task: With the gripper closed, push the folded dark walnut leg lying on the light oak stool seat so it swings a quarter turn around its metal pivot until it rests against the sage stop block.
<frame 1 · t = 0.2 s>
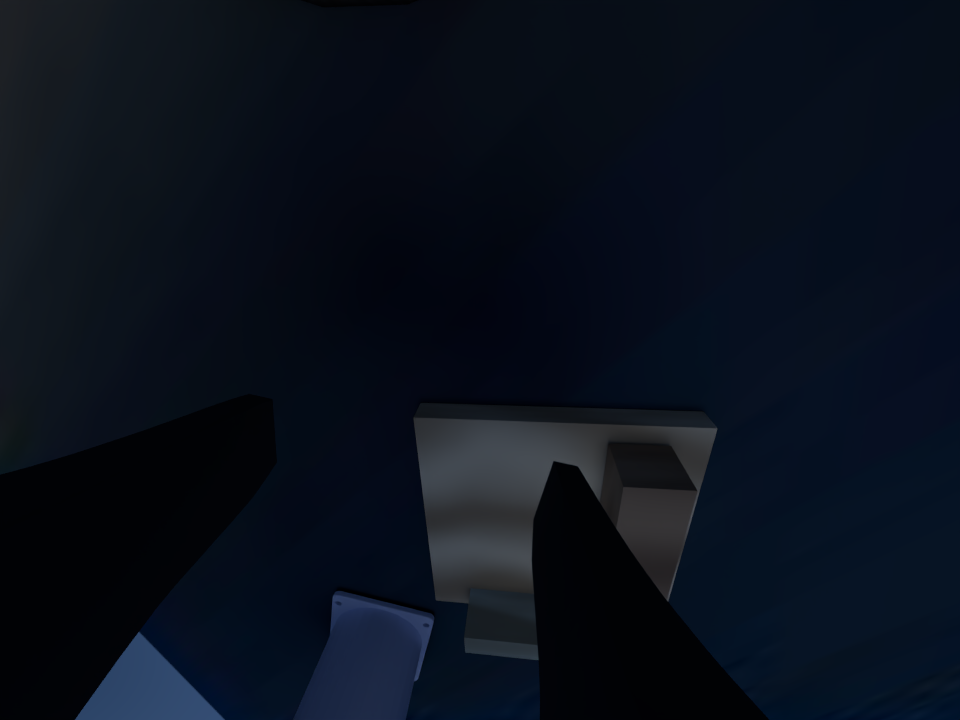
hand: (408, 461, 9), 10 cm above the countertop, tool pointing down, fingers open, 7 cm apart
stool leg: (633, 560, 19), point 4 cm above the countertop, hinge at 0.0°
stool seat: (608, 558, 24), on the countertop
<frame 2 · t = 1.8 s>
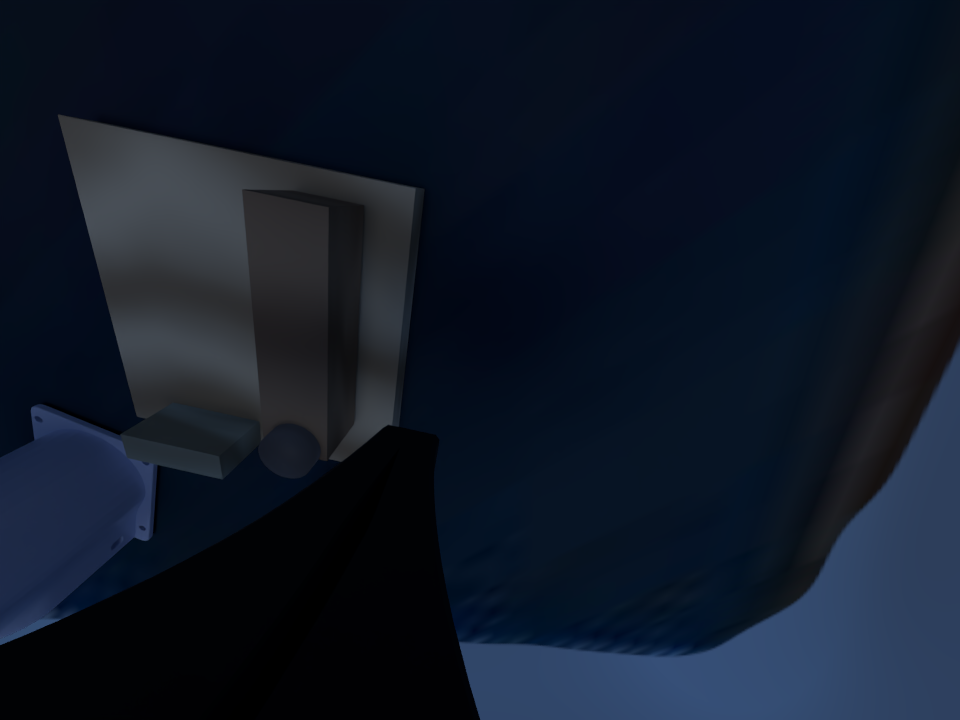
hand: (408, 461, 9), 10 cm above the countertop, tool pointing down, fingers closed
stool leg: (306, 344, 16), point 4 cm above the countertop, hinge at 0.0°
stool seat: (341, 394, 21), on the countertop
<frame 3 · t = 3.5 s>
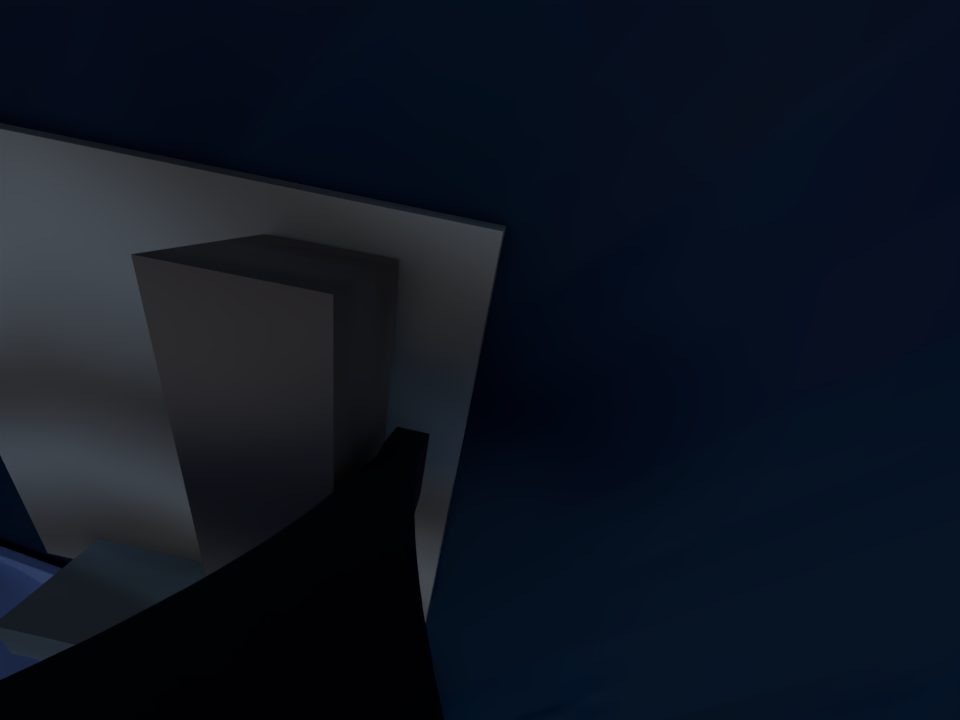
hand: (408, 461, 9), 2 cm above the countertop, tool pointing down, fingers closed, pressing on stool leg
stool leg: (293, 508, 9), point 4 cm above the countertop, hinge at 0.6°, touching gripper
stool seat: (352, 522, 14), on the countertop
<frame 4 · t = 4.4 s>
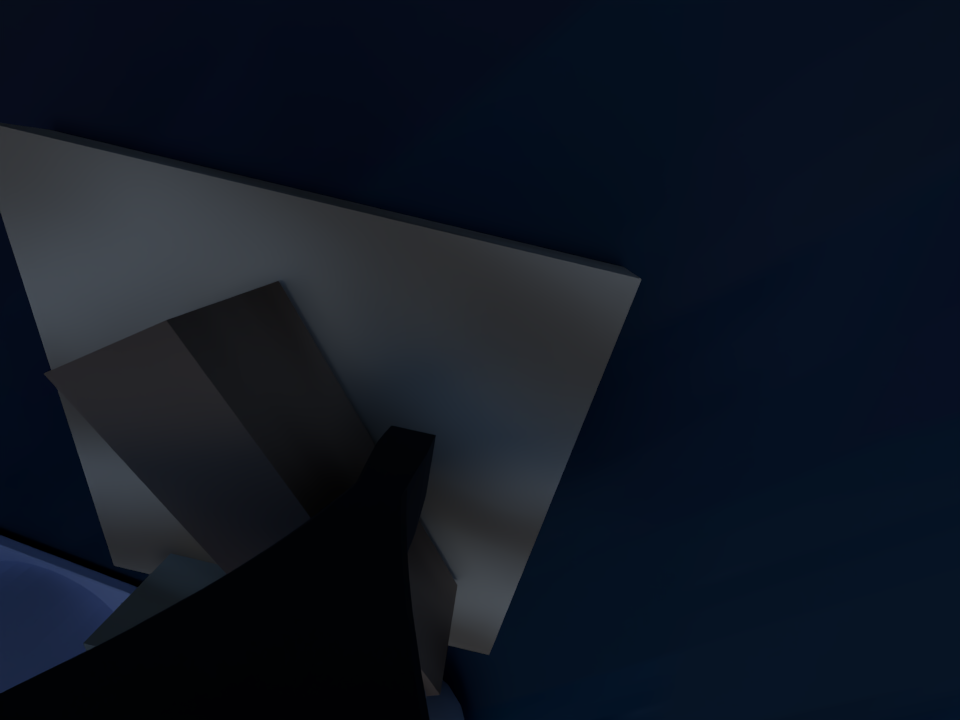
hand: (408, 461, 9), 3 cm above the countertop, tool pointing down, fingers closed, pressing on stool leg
stool leg: (313, 534, 9), point 4 cm above the countertop, hinge at 33.5°, touching gripper
donut: (436, 681, 19), on the countertop
stool seat: (423, 540, 14), on the countertop
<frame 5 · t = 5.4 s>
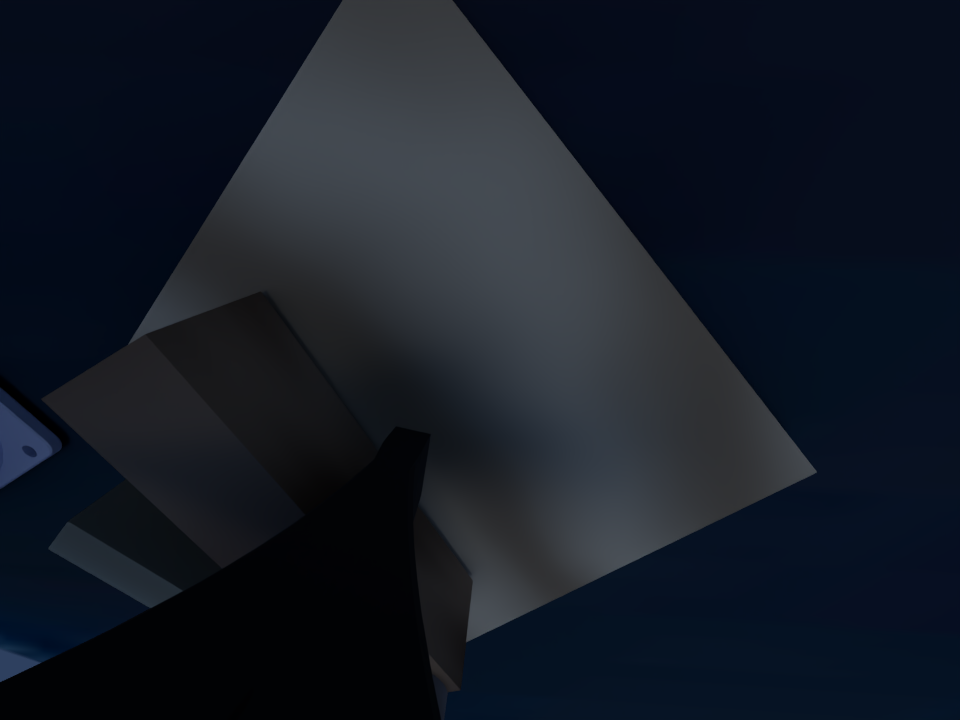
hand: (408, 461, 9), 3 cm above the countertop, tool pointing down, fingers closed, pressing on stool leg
stool leg: (319, 538, 9), point 4 cm above the countertop, hinge at 73.4°, touching gripper
stool seat: (437, 539, 14), on the countertop
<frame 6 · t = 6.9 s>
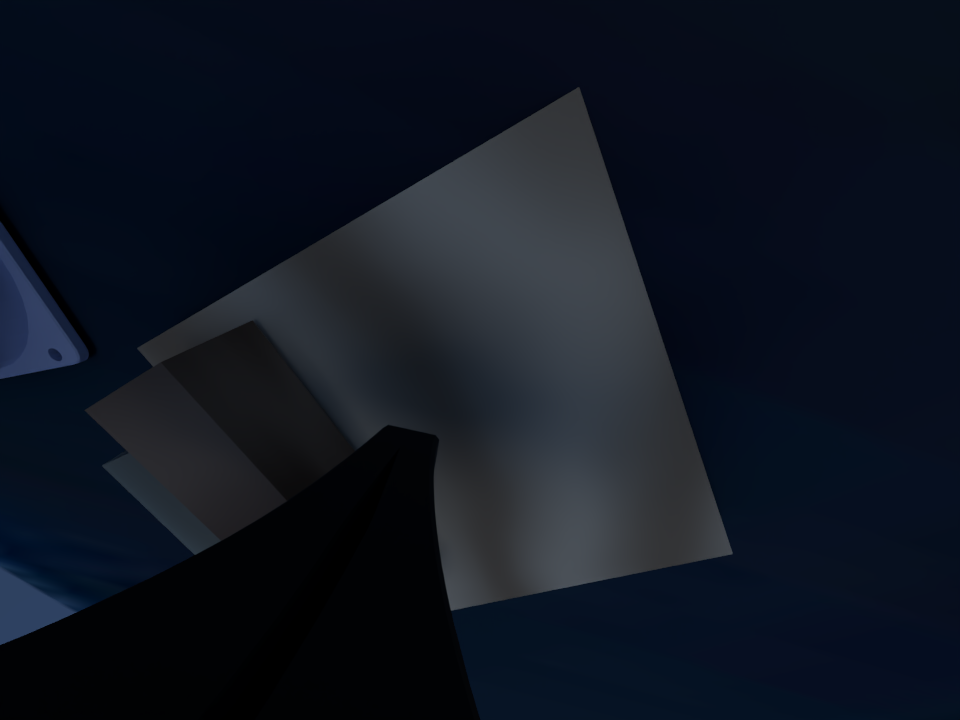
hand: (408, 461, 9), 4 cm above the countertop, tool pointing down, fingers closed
stool leg: (303, 521, 11), point 4 cm above the countertop, hinge at 92.2°
stool seat: (415, 527, 16), on the countertop
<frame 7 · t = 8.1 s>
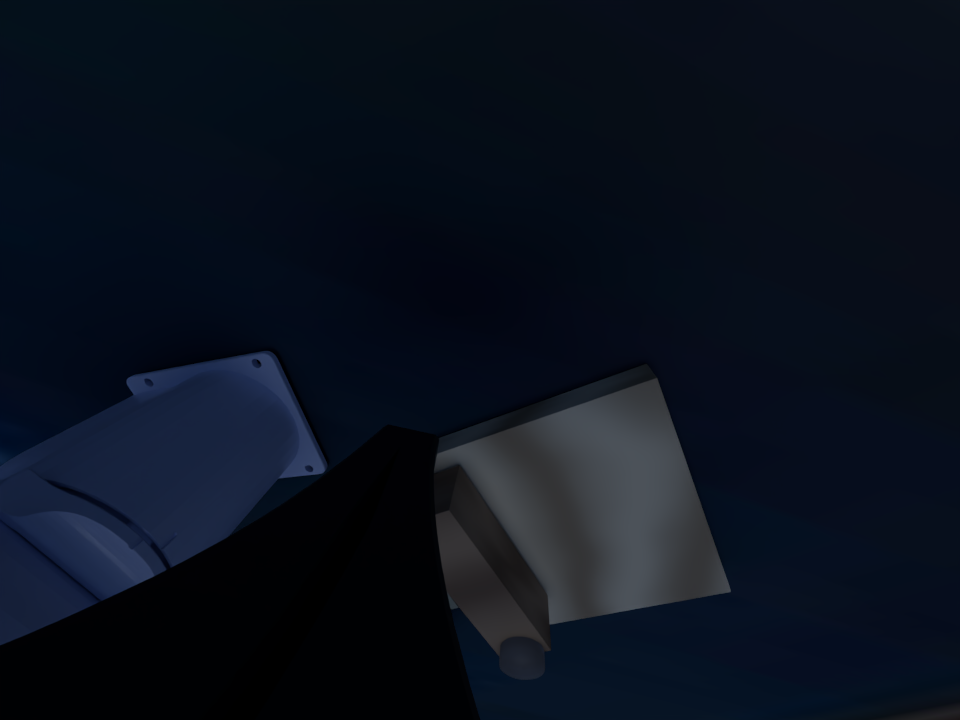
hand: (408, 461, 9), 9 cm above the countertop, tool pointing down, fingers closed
stool leg: (483, 577, 20), point 4 cm above the countertop, hinge at 92.2°
stool seat: (522, 570, 24), on the countertop
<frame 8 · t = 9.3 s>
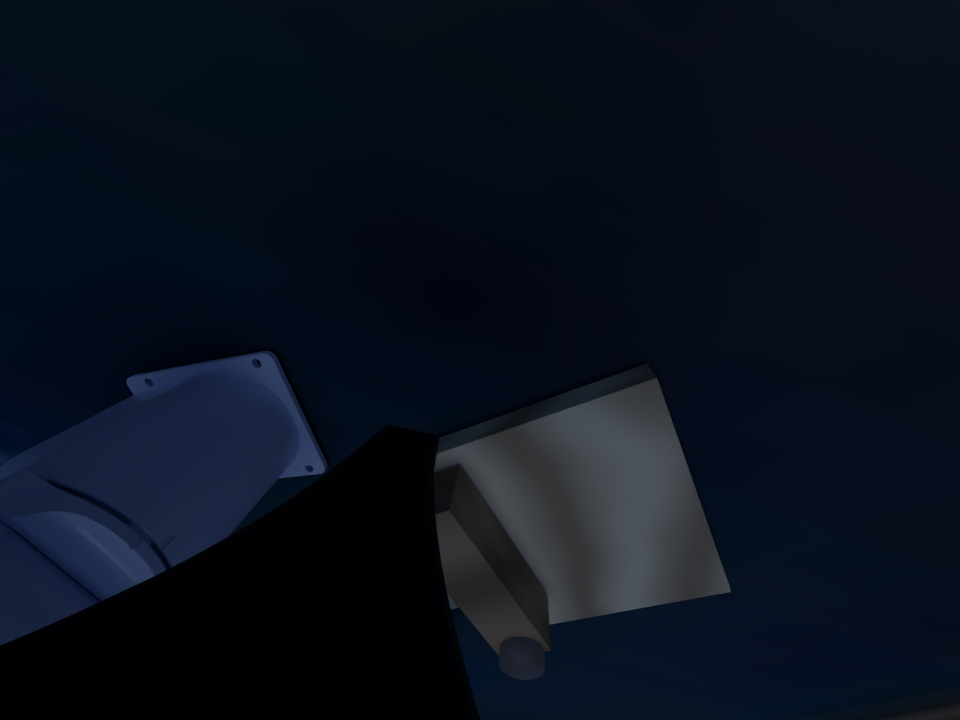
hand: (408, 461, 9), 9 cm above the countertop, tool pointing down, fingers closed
stool leg: (483, 577, 20), point 4 cm above the countertop, hinge at 92.2°
stool seat: (522, 570, 24), on the countertop
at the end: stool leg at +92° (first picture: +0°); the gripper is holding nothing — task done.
